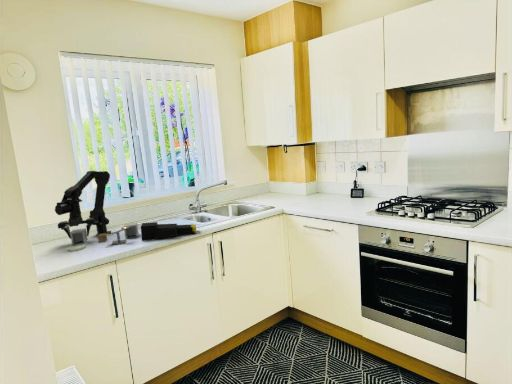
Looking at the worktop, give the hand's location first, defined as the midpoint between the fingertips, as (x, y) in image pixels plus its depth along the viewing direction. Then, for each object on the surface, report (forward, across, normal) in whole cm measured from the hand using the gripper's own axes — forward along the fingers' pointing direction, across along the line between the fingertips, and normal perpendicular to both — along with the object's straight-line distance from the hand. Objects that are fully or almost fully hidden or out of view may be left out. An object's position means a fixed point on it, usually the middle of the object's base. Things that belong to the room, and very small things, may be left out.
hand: (79, 237), depth 209 cm
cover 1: (+3, 0, 0) cm, 3 cm away
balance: (+3, +23, -14) cm, 27 cm away
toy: (+4, +50, -14) cm, 52 cm away
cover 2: (+3, +29, -3) cm, 29 cm away
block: (+3, +13, -4) cm, 14 cm away
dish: (+3, +1, -13) cm, 13 cm away
